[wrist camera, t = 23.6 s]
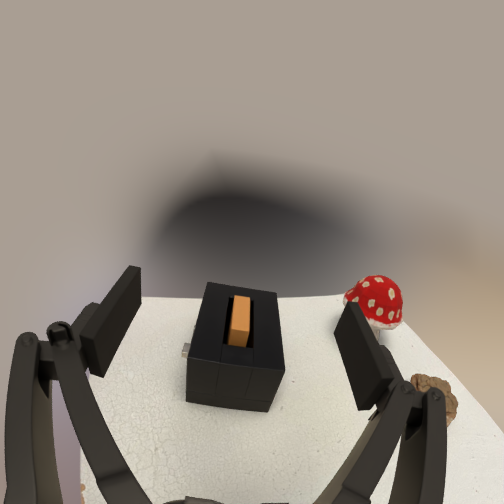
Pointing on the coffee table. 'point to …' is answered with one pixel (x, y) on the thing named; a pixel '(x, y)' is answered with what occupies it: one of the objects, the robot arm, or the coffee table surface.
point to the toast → (239, 322)
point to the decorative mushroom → (378, 302)
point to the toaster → (235, 352)
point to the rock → (427, 382)
